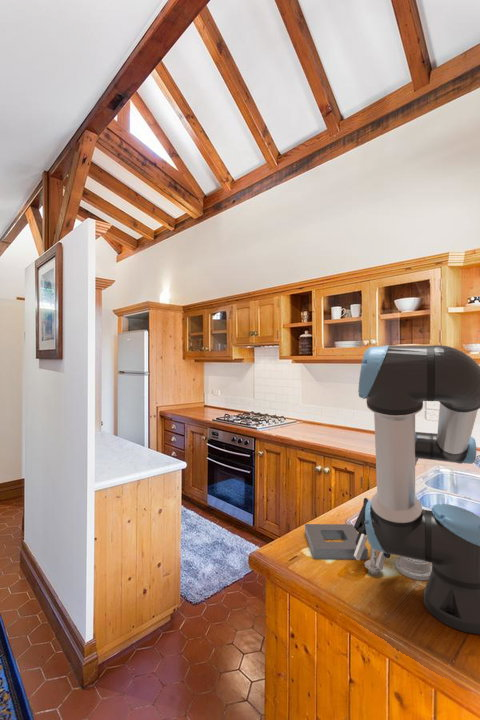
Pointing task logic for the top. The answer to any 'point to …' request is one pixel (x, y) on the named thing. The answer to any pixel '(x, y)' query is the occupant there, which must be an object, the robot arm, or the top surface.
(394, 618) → the top surface
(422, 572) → the mechanical component
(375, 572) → the screw
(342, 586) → the top surface
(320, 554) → the socket plate
